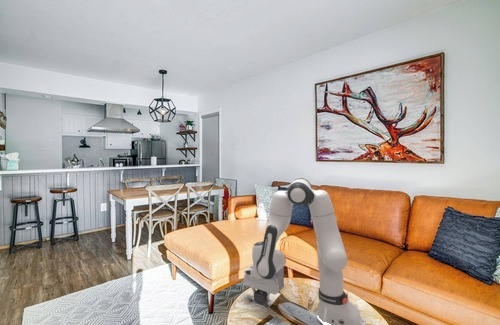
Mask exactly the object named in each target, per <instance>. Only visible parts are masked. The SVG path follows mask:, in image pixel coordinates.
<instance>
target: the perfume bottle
mask: <svg viewBox="0 0 500 325" xmlns="http://www.w3.org/2000/svg"><path fill="white" fill-rule="evenodd" d="M284 269H285V266H283V267H282V268H281V269H280V270H279V271H278V272H277V273H276V274H275V276H276V277H277V278H278V284H279V291H280V290H281V289H283V288H284V287H285V283H284V282H285V279H284V278H285V274H284V273H285V272H284V271H285V270H284Z"/></svg>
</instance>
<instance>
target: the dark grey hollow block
mask: <svg viewBox="0 0 500 325" xmlns="http://www.w3.org/2000/svg"><path fill="white" fill-rule="evenodd" d="M260 291H262V290H259V289H256V291H255V292H253V297H254V301H257V302H259V303H262V304H264V303H265V302H266V301H267V299H266V298H265V296H266V295H268V294H267V292H265V291H262V292H263V295H262V294H259V292H260Z"/></svg>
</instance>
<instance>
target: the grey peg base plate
mask: <svg viewBox="0 0 500 325" xmlns="http://www.w3.org/2000/svg"><path fill="white" fill-rule="evenodd" d="M259 294H262V295H263V292H262V291H260V292H259ZM281 294H282V293H281V292H280V293H279V292H278V293H277V294H276V295H275V294H272V293H271V294H270V295H269V299H268V300H267V301H266V302H265V303H264V304H262V303H259V302H257V301H254V296H252V298H251V297H250V298H249V299H248V301H247V302H248V303H250V304H252V305H256V306H257V307H261V308H264V309H266V310H267V309H269V308H270V307H271V306H272V305H273V303H275V301H276V300H277V298H279V297H280V295H281Z"/></svg>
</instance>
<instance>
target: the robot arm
mask: <svg viewBox="0 0 500 325" xmlns="http://www.w3.org/2000/svg"><path fill="white" fill-rule="evenodd" d="M294 205H297V206H305V207H308V208H309V211H310V216H311V220H312V225H313V230H314V233H315V236H316V237H315V238H316V250H317V251H316V252H317V262H318V273H319V279H318V280H319V281H318V282H319V288H318V291H317V292H318V307H317V311H316V315H318V316H319V318H320V319H321V320H322V321H323V322H327V323H329V324H331V325H367V323H366V320H365V318H364V317H363V316H361V313H360V310H359V308H358V307H357V306H356V305H354V304H353V303H352V302H351V301H350V300H349V293H348V291H347V292H345V291H344V273H343V270H344V269H345V268H346V267H347V265H348V256H347V252H346V249H345V246H344V245H345V244H344V243H343V240H342V236H341V231H340V230H339V227H338V223H337V217H336V212H335V209H334V205H333V202H332V200H331V197H330V195H329V193H328V192H327V191H326V190H323V189H313V188H312V184H311V183H310V181H309V180H307V179H305V178H303V177H300V178H296V179H295V180H293V181H292V182H290V184H289V186H288V188H287V189H286V190H278V191H275V192H274V193H273V195H272V198H271V202H270V206H269V214H268V221H267V225H266V229H265V232H264V237H263V241H257V242H256V243H254V244H253V246H252V250H251V251H252V253H251V260H252V265H250V266H248V267H247V268H246V269H245V270H244V275H243V284H244V285H245V286H247V287H249V288H251V291H252V292H253V293H254V292H255V291H257V290H258V289H259V290H262V291H265V292H267V294H268V295H266V296H265V298H266V299H267V300H268V299H269V295H270V294H271V293H272V294H275V295H276V294H277V293H279V292H280V290H279V284H278V278H277V277H276V276H275V274H276V273H277V272H278V271H279V270H280V269H281V268H282V267H285V265H286V263H287V259H286V255H285V254H284V253H283V251H281V250H279V249H276V246H277V243H278V240H279V238H280V237H281V236H282V235H283V233H285V231H286V230H287V229H288V228H289V226H290V223H291V221H292V220H291V219H292V213H293V206H294Z"/></svg>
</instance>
